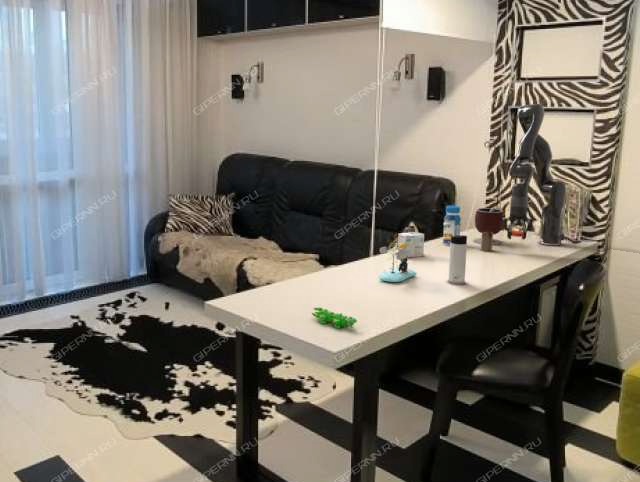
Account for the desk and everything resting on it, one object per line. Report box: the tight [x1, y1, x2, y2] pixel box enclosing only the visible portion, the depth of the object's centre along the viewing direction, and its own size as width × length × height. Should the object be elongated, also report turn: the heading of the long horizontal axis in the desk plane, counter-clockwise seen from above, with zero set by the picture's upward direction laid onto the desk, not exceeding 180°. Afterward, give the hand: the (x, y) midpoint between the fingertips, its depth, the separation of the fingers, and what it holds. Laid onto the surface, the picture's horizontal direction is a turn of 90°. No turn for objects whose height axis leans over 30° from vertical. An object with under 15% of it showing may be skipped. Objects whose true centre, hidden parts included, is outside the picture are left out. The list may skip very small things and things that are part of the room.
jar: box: [480, 231, 494, 252], centre depth 301 cm, size 5×5×9 cm
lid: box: [511, 230, 524, 238], centre depth 295 cm, size 6×6×2 cm
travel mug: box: [448, 234, 468, 286], centre depth 246 cm, size 6×7×20 cm
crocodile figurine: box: [311, 306, 358, 329], centre depth 202 cm, size 7×18×4 cm, turn 44°
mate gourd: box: [474, 206, 504, 246], centre depth 317 cm, size 16×14×20 cm
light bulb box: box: [397, 231, 425, 258], centre depth 291 cm, size 11×7×11 cm, turn 108°
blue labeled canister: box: [442, 205, 462, 247], centre depth 313 cm, size 8×8×20 cm
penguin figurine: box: [378, 243, 417, 283], centre depth 253 cm, size 20×11×15 cm, turn 133°
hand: (516, 238), depth 295 cm, fingers closed on lid, 5 cm apart
